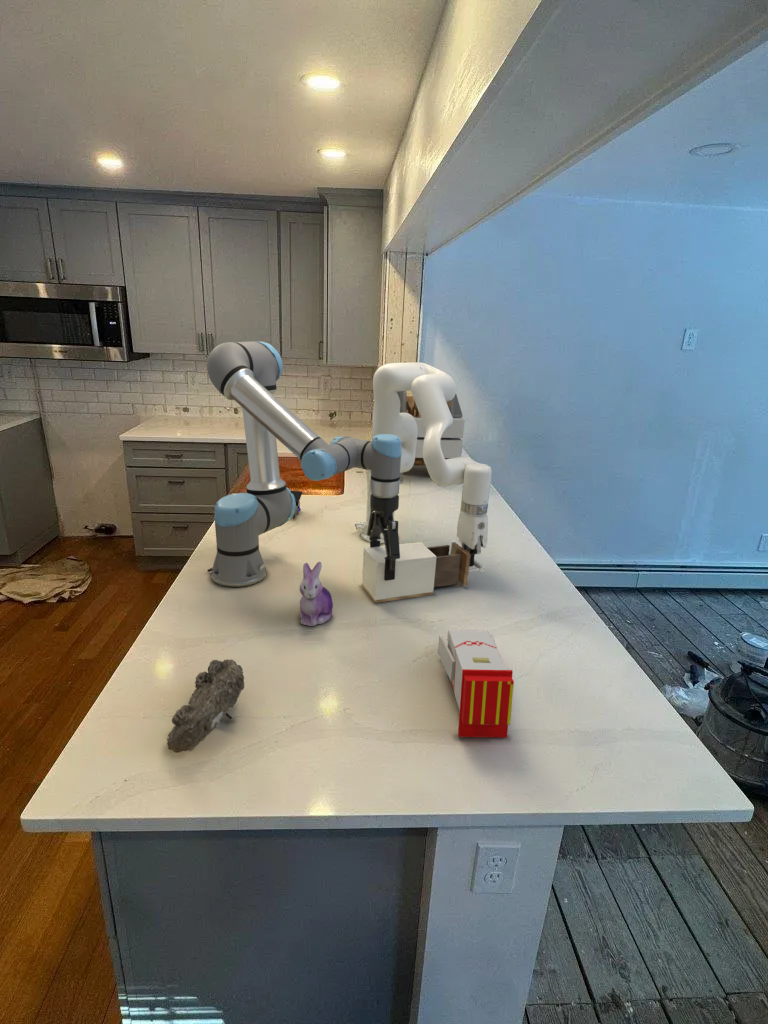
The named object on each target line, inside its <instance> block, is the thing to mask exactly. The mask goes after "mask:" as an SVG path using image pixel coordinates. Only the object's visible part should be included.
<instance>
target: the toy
mask: <svg viewBox="0 0 768 1024" xmlns="http://www.w3.org/2000/svg"><path fill="white" fill-rule="evenodd" d="M446 640H447V643H446V641H445V639H444V636H443V635H442V634H439V637H438V646H437V656H438V657H439V659H440V661H441V663H442V666H443V668H444V670H445V672H446V674H447V677H448V679H449V681H450V684H451V687H452V690H453V693H454V697H455V701H456V705H457V708H458V711H459V714H458V715H459V716H458V730H457V731H458V732H457V737H458V738H508V731H509V726H510V725H511V717H512V707H513V697H514V696H513V695H514V684H515V680H514V679H513V673H514V671H513V670H512V669H508V667H507V665H506V662H505V661H504V659H503V658H502V655H501V653H500V651H499V649H498V647H497V643H496V639H495V637H494V635H493V634H491V632H490V631H489V629H467V628H466V629H465V628H463V629H461V628H460V629H459V628H448V630H447V639H446Z"/></svg>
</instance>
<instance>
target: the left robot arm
mask: <svg viewBox="0 0 768 1024" xmlns="http://www.w3.org/2000/svg"><path fill="white" fill-rule="evenodd" d="M283 367H284V365H283V360H282V357H281V355H280V353H279V352H278V349H276V348H274V346H273V345H271V344H270V343H268V342H265V341H259V340H258V341H257V340H251V341H236V342H235V341H227V342H223V343H220V344H218V345H217V346H215V347H214V348H213V349H212V350H211V351H210V353H209V355H208V357H207V360H206V371H207V375H208V378H209V380H210V382H211V384H212V385H213V387H214V388H215V389H216V390H217V391H218V392H219V393H220V394H221V395H222V396H223V397H224V398H225V399H227V400H228V401H234V402H236V403H237V404H238V405H239V406H240V407H241V409H242V419H243V425H244V427H243V428H244V434H245V444H246V451H247V460H248V461H247V462H248V468H249V469H248V470H249V479H250V481H249V482H248V483H247V485H246V487H245V488H246V489H245V490H246V492H237V493H231V494H230V493H229V494H227V495H225V496H223V497H221V498H219V499H218V501H216V503H215V505H214V514H213V515H214V516H213V519H214V528H215V529H214V531H215V543H216V554H215V558H214V561H213V565H212V567H211V568H208V569H207V572H208V573H210V572H211V580H212V581H213V582H214V583H215V584H217V585H220V586H223V587H227V588H243V587H249V586H252V585H253V586H254V585H255V584H258V583H260V582H261V581H263V580H264V579H265V578H266V577H267V567H266V562H265V561H264V558H263V556H262V554H261V551H260V544H259V543H260V540H259V538H260V537H259V536H261V535H263V534H265V533H267V532H269V531H272V530H274V529H276V528H279V527H282V526H283V525H285V524H286V523H287V522H289V521H290V520H291V519H293V515H294V512H295V508H296V502H295V497H294V495H293V494H292V493H291V491H292V490H291V489H290V488H288V487H287V482H286V481H285V480H284V479H282V478H281V474H280V473H281V471H280V463H279V461H280V460H279V454H278V453H279V452H278V443H277V440H278V441H279V442H280V443H281V444H282V445H283V446H284V447H285V448H287V449H288V450H289V451H290V452H292V454H293V455H295V457H297V458H298V459H299V460H300V468H301V470H302V472H303V474H304V476H305V477H306V478H307V479H308V480H311V481H314V482H319V481H323V480H328V479H330V478H333V476H336V475H338V474H340V473H344V472H346V471H349V470H351V469H354V468H355V469H356V468H357V469H361V470H365V471H366V470H371V486H370V492H371V493H372V494H371V496H370V507H371V513H370V519H369V525H368V531H367V535H368V536H370V537H369V539H370V540H371V541H370V542H369V543H370V544H369V548H370V547H379V546H381V543H380V541H379V539H380V538H381V537H380V534H381V533H382V534H383V536H384V542H385V543H384V546H385V548H386V554H387V557H385V575H384V580H385V581H388V580H394V579H395V564H396V559H399V558H400V549H399V544H400V540H399V539H400V537H399V521H398V520H395V518H394V519H393V512H394V511H395V512H396V511H398V510H399V505H400V496H399V494H400V485H401V484H402V482H400V465H401V455H402V453H401V439H400V438H399V437H398V436H395V435H391V434H378V435H375V436H372V439H371V440H366V439H361V438H356V437H351V436H340V435H339V436H335V437H334V438H333V440H331V441H330V443H328V442H326V441H325V440H324V439H323V438H322V437H321V436H319V435H318V434H317V433H316V432H315V431H314V430H313V429H312V428H311V427H310V426H308V425H307V424H306V423H305V422H304V421H303V420H302V419H300V418H299V417H298V416H297V415H296V414H295V413H294V412H293V411H291V409H289V408H288V407H287V406H286V405H285V404H284V403H283V402H281V401H280V400H279V399H278V398H277V397H276V396H275V395H274V394H275V393H276V392H277V391H278V390H277V389H278V388H277V381H278V380H279V379H280V378H281V375H282V374H283V370H284V369H283ZM395 512H394V513H395ZM384 529H388V530H384ZM377 540H378V541H377Z"/></svg>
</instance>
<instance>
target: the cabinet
mask: <svg viewBox="0 0 768 1024" xmlns="http://www.w3.org/2000/svg"><path fill="white" fill-rule="evenodd" d="M427 547H428V546H425V545H424V544H423V543H422V542H421V541H417V542H408V543H407V542H406V543H399V549H400V558H399V559H396V564H395V579H394V580H388V581H385V580H384V575H385V557H387V554H386V548H385V545H380V546H379V547H370V546H369V547H363V556H362V557H363V559H362V580H361V587H362V588H363V589H364V591H365V592H366V593H367V595H368V596H369V597H370V598H371V600H372V601H373V603H374V604H378V603H384V602H391V601H397V600H398V601H399V600H405V599H412V598H418V597H426V596H432V595H434V589H435V587H434V578H435V568H436V555H434V554H433V553H432V552H431V551H430V550H429V549H428V548H427Z"/></svg>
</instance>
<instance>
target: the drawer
mask: <svg viewBox="0 0 768 1024" xmlns="http://www.w3.org/2000/svg"><path fill="white" fill-rule="evenodd" d="M426 547H427V548H428V549H429V550H430V551H431V552H432V553H433V554H434V555H436V568H435V578H434V588H439V587H446V586H453V585H458V584H459V583H460V584H461V585H462V586H464V587H466V586H468V581H469V573H470V572H478V571H480V572H481V573H483V572H485V570H486V567H485V566H484V565H482V563H480V562H478V561H477V560H476V559H475V558H474V565H473V567H474V568H470V567H469V565H470V556H471V554H470V553H468V552H467V551H466V550H465V549H463V548H462V545H460V544H459V543H457V542H456V541H452V542H451V545H449V544H445V545H443V544H442V545H435V546H426Z"/></svg>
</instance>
